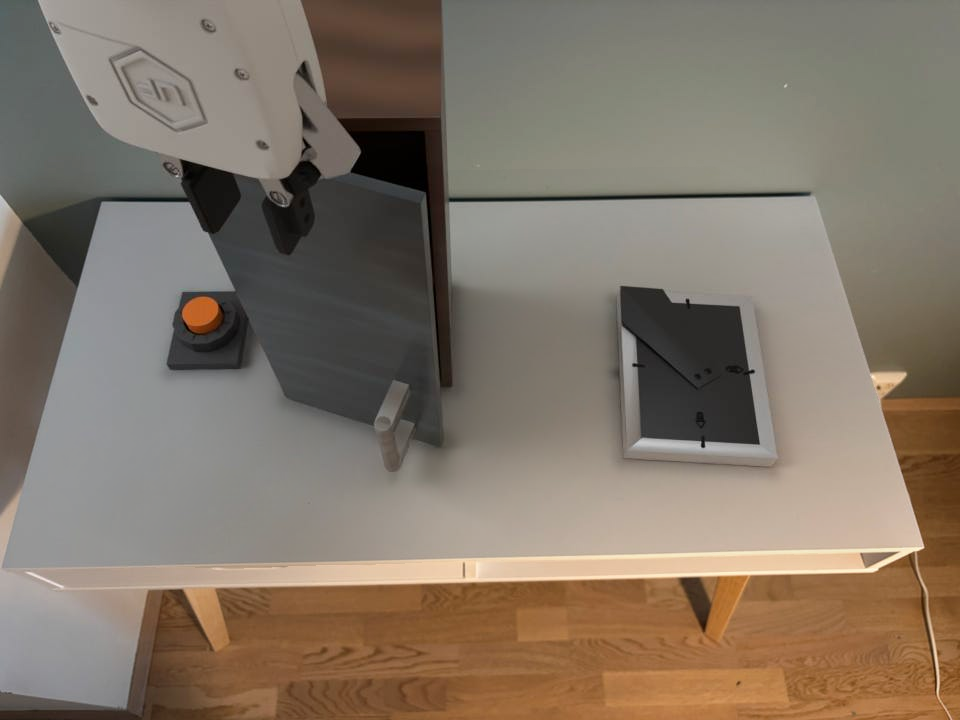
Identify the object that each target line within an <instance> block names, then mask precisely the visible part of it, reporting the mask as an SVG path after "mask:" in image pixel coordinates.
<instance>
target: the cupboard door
mask: <svg viewBox="0 0 960 720" xmlns="http://www.w3.org/2000/svg"><path fill="white" fill-rule="evenodd" d="M233 175H234V177H235V180H236V182H237V185H238V188H239V190H240V193H241V199H240V201H239V202H238V204H237V205H236V207H235V208H234V210H233V211H232V213H231V214H230V216H229V217H228V219H227V220H226V222H225V223H224V225H223V226H222V228H221V229H220V231H219V232H217V233H215V234H211V233H208V232H207V234H208V236H209V238H210V240H211V242H212V245H213V246H214V248H215V251H216V253H217V256H218V257H219V260H220V262H221V263H222V266H223V268H224V270H225V272H226V274H227V276H228V278H229V280H230V282H231V285H232V287H233V289H234V291H236V293H237V295H238V297H239V300H240V302H241V304H242V306H243V308H244V310H245V312H246V314H247V316H248V322H249V323H250V325H251V327H252V329H253V331H254V333H255V335H256V338H257V340H258V342H259V344H260V346H261V348H262V351H263V352H264V355H265V356H266V359H267V361H268V363H269V365H270V368H271V369H272V371H273V373H274V375H275V378H276V380H277V382H278V385H279V386H280V389H281V390H282V392H283V396H284V397H285V398H286V399H289V400H292V401H294V402H298V403H301V404H305V405H307V406H311V407H314V408H316V409H320V410H324V411H327V412H330V413H332V414H335V415H339V416H342V417H346V418H349V419H352V420H354V421H358V422H360V423H364V424H368V425H370V426H373V427H374V431H375V434H376V438H377V442H378V445H379V449H380V452H381V453H380V454H381V458H382V461H383V465H384V468H385V470H386V471H387V472H388V473H396V472H398V471H399V470H400V468H401V466H402V463H403V462H404V459H405V457H406V455H407V453H408V450H409V447H410V445H411V443H412V441H413V439H415V440H418V441H421V442H424V443H426V444H429V445H432V446H436V447H438V448H441V447H442V446H443V444H444V441H445V435H444V421H443V419H444V418H443V407H442V394H441V393H442V392H441V386H440V379H439V365H438V351H437V338H436V324H435V311H434V297H433V284H432V270H431V257H430V243H429V230H428V216H427V203H426V193H425V192H423V191H419V190H415V189H411V188H407V187H404V186H400V185H396V184H392V183H388V182H385V181H381V180H377V179H373V178H369V177H366V176H362V175H358V174H354V173H351V172H350V173H348V174H345V175H341V176H337V177H334V178H330V179H325V178H323V179H320V180H318V181H317V183H316V184H315V185H314V186H312V187H311V188H309V189H308V191H309V194H310V198H311V202H312V205H313V209H314V213H315V220H314V224H313V227H312V229H311V230H310V232H309V234H308V235H307V236H306V237H301V239H300V240H299V242H298V244H297V245H296V247H295V249H294V250H293V252H292V254H291V255H290V256H288V255H284V254H281V253H279V251H278V250H277V249H276V247H275V244H274V241H273V238H272V235H271V233H270V230H269V227H268V224H267V222H266V219H265V216H264V213H263V210H262V202H263V200H264V199H265V197H266V196H267V194H266V193H265V191H264V189H263V187H262V185H261V183H260V181H259V180H258V178H253V177H248V176H244V175H240V174H236V173H233Z"/></svg>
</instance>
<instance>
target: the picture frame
mask: <svg viewBox="0 0 960 720" xmlns="http://www.w3.org/2000/svg"><path fill="white" fill-rule="evenodd" d="M619 288H620V289H618V292H617V296H616V316H617V317H616V319H617V320H616V321H617V343H618V345H617V346H618V366H619V386H620V387H619V390H620V409H621V410H620V411H621V412H620V413H621V433H622V434H621V436H622V437H621V439H622V458H623V459H629V460H630V459H631V460H646V461H648V460H649V461H666V462H679V463H696V464H697V463H699V464H716V465H732V466H748V467H749V466H750V467H765V468H772V467H773V466H774V465H775V463H777V461H778V460H779V457H778V451H777V445H776V444H777V443H776V439H775V432H774V425H773V419H772V413H771V406H770V400H769V394H768V388H767V380H766V374H765V368H764V361H763V356H762V355H763V354H762V349H761V344H760V343H761V342H760V336H759V331H758V330H759V329H758V323H757V318H756V311H755V305H754V297H753V296H747V295H746V296H745V295H727V294H708V293H690V292H689V293H688V292H671V291H665V290H664V289H663V288H658V287H657V288H656V287H643V286H642V287H641V286H630V285H629V286H626V285H620V287H619Z"/></svg>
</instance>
